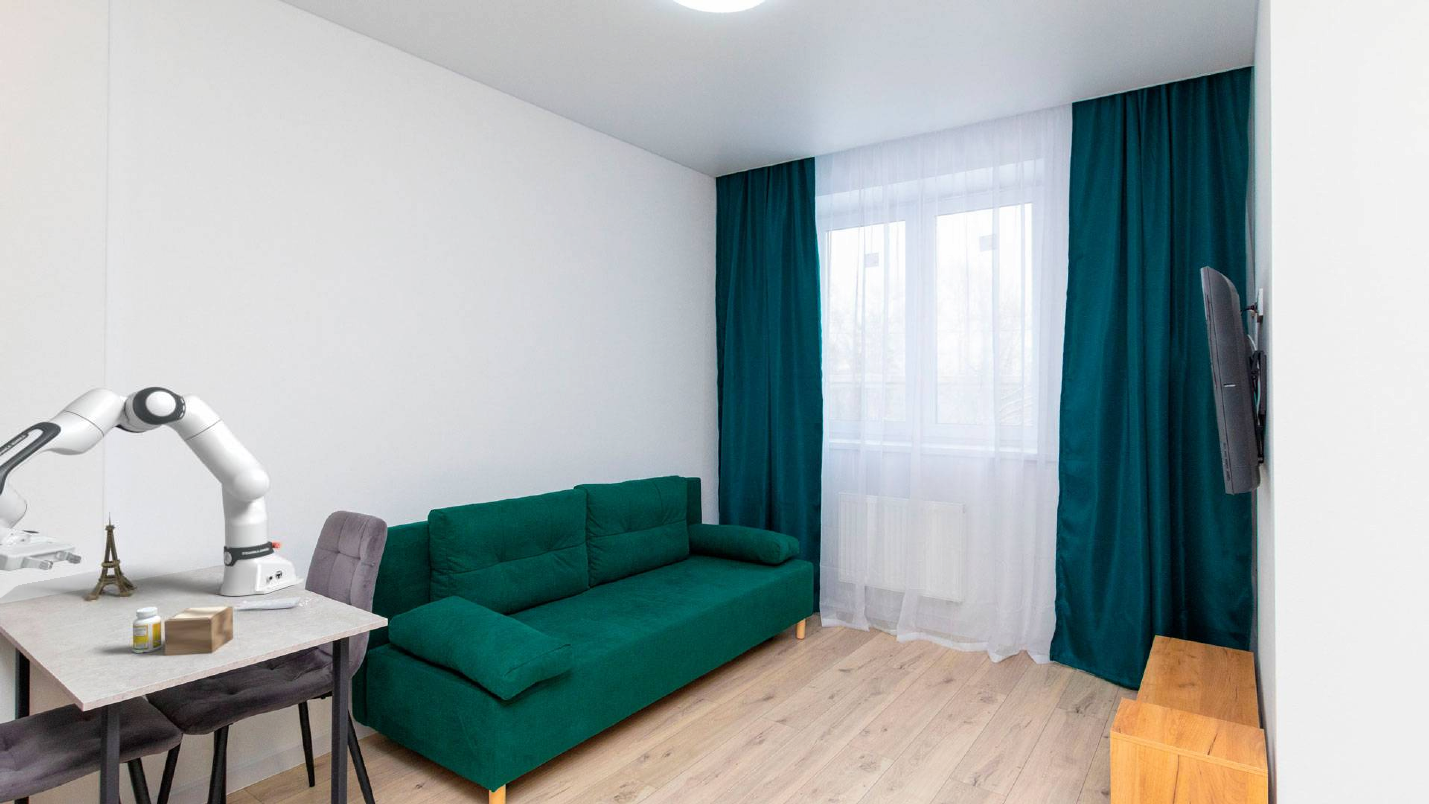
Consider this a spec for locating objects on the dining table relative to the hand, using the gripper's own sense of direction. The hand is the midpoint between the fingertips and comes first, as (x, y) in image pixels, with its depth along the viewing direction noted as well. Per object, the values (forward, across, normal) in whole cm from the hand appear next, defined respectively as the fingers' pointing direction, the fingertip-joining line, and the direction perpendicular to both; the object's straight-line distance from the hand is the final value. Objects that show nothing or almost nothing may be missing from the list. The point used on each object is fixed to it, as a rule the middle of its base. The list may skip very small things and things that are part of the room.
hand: (65, 563), depth 173 cm
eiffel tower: (-15, +52, +22) cm, 58 cm away
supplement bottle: (+24, +1, +15) cm, 28 cm away
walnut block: (+34, +1, +11) cm, 36 cm away
